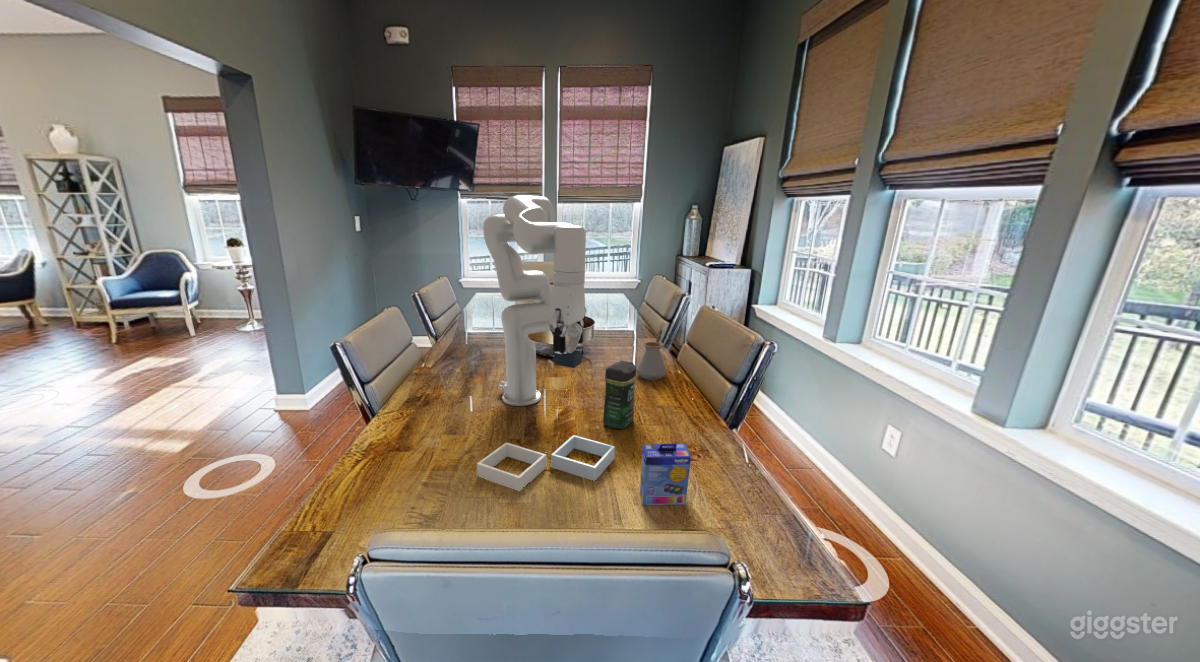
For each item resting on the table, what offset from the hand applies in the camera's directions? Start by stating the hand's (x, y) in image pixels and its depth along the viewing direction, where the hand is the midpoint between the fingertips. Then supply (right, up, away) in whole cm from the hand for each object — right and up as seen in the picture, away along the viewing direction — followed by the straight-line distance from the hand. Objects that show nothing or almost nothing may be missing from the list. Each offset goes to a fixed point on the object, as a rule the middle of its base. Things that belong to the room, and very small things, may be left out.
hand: (568, 346), depth 112 cm
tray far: (+4, -29, -1) cm, 29 cm away
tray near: (-13, -30, -6) cm, 33 cm away
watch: (0, -5, +1) cm, 5 cm away
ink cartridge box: (+22, -33, -14) cm, 42 cm away
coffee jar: (+14, -24, +20) cm, 34 cm away
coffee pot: (+29, -12, +61) cm, 69 cm away
